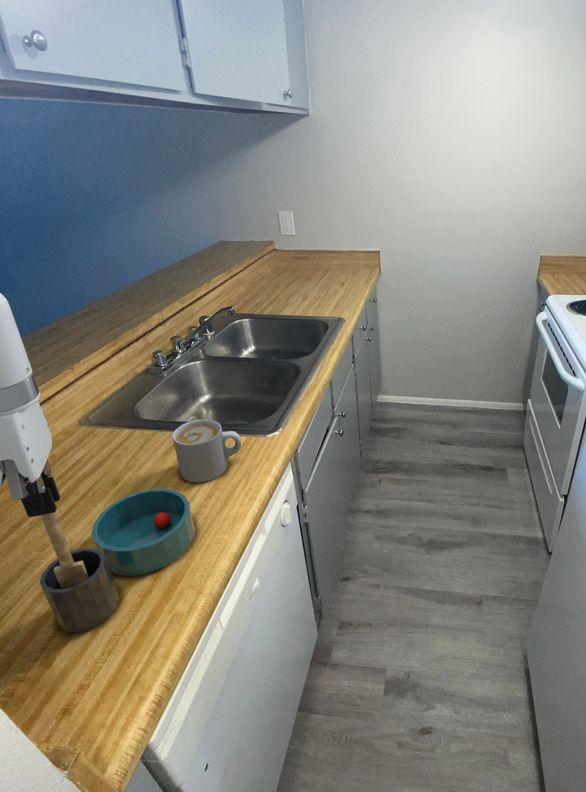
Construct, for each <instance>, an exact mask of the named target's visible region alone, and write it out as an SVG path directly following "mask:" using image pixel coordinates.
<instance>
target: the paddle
mask: <svg viewBox="0 0 586 792" xmlns="http://www.w3.org/2000/svg"><path fill="white" fill-rule="evenodd" d="M28 483H31V482H30V481H29V482H28V481H27V484H28ZM33 483H34V482H33ZM39 517H40V518H41V521H42V523H43V526H44V528H45V531H46V533H47V535H48V537H49V540H50V543H51V545H52V547H53V550H54V553H55V555H56V558H57V559H58V560H59V562H60V565H61V566H58V567H55V568H54V573H55V575H56V578H57V580H58V583H59V585H60V587H61V589H67V588H71V587H74V586H76V585H78V584H80V583H82V582H84V581H86V580H87V579H88V578H89V576H88V574H87V571H86V568H85V566H84V563H83V561H79V562H75V563H74V560H73V558H72V555H71V553H70V552H71V550H70V548H69V545H68V542H67V539H66V538H65V535H64V531H63V529H62V527H61V524H60V522H59V519H58V517H57V513H56V512H54V513H50V514H45V515H40V516H39Z"/></svg>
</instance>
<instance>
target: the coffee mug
mask: <svg viewBox="0 0 586 792" xmlns="http://www.w3.org/2000/svg"><path fill="white" fill-rule="evenodd" d="M228 439H233V441H234V446H231V447H228V446H227V445H226V441H227V440H228ZM172 441H173V446H174V450H175V455H176V459H177V463H178V467H179V468H178V469H179V472H180V476H181V478H182V479H183V480H185V481H187V482H190V483H204V482H209V481H212V480H214V479H217V478H219V477H220V476H221V475H223V474H224V473H225V472H226V470H227V468H228V466H229V465H228V464H229V463H228V459H229V458H230V457H231V456H233V455H236V454H237V453H238V452H239V451H240V450H241V447H242V441H241V436H240V435H239V434H238V432H236V431H232V430H229V431H228V430H227V431H223V428H222V425H221V424H220V422H217V421H215V420H212V419H196V420H192V421H188V422H185V423H183V424H181V425H179V426H178V427H177V428H176V429H175V430H174V431H173V432H172Z"/></svg>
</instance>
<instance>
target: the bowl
mask: <svg viewBox="0 0 586 792" xmlns="http://www.w3.org/2000/svg"><path fill="white" fill-rule="evenodd" d="M161 512H166V513H168V514H169V515H170V516H171V523H170V524H169V525H168V526H167V527H166V528H162V529H161V528H157V527H156V526H155V525H154V518H155V516H156V515H157V514H159V513H161ZM91 529H92V530H91V537H92V539H93V542H94V544H95V549H97V550H99V551H101V552H102V553H103V555H104V556H105V559H106V561H107V564H108V567H109V570H110V572H111V574H115V575H119V576H124V577H132V576H141V575H146V574H151V573H154V572H155V571H158V570H161V569H162V568H163V569H164V568H165V567H167V566H168V565H170V564H172V563H173V562H175V561H176V560H177V559H178V558H180V557H181V556H182V555H183V554H184V553H185V552H186V551H187V550H188V548H189V547H190V545H191V544H192V542H193V540H194V536H195V530H196V529H195V522H194V518H193V513H192V509H191V505H190V502H189V500H188V498H187V496H185V494H183V493H181V492H179V491H178V490H175V489H171V488H148V489H144V490H139V491H136V492H133V493H131V494H127V495H125V496H123V497H121V498H120V499H118V500H117V501H114V502H113V503H111V504H110V505H109V506H107V507H106V508H105V509H104V510H103V511H102V512H100V514H99V515H98V517H97V518H96V519H95V521H94V523H93V524H92V528H91Z"/></svg>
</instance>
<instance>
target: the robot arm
mask: <svg viewBox="0 0 586 792" xmlns="http://www.w3.org/2000/svg"><path fill="white" fill-rule="evenodd" d="M40 398H41V391H40V389H39V385H38V383H37V380H36V376H35V374H34V371H33V369H32V366H31V363H30V359H29V358H28V354H27V351H26V348H25V346H24V343H23V340H22V337H21V334H20V332H19V328H18V326H17V323H16V320H15V317H14V314H13V312H12V308H11V306H10V303H9V300H8V299H7V298H6V297H5V295H3V294H2V293H1V292H0V489H1V488H2V486H3V485H4V483H5V480H6V482H7V488H8V492H9V497H10V500H11V501H17V500H20V501H21V504H22V505H23V506H22V507H23V508H24V510H25V513H26V515H27V517H29V518H35V517H41V516H40V515H45V514H50V513H54V512H55V513H56V511H57V508H58V507H57V505H56V503H58V502H59V501H60V500H61V494H60V492H59V489H58V487H57V484H56V481H55V479H54V476H52V474H53V473H52V468H51V464H50V462H49V460H48V458H49V455H50V453H51V450H52V447H53V438H52V434H51V433H52V432H51V430H50V427H49V424H48V422H47V418H46V416H45V413H44V412H43V409H42V407H41V404H40V403H39V400H40ZM27 481H28V482H29V481H30V482H31V483H28V484H27ZM33 482H34V483H33Z"/></svg>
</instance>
